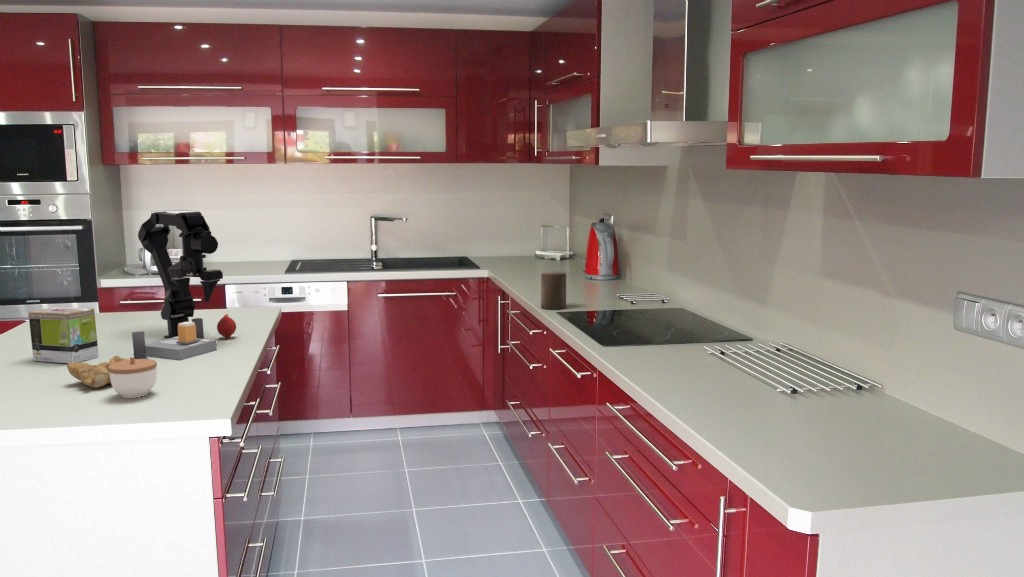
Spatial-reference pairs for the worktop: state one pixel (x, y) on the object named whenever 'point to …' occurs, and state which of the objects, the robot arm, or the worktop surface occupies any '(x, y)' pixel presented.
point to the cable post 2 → (199, 327)
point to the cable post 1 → (139, 345)
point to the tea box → (63, 334)
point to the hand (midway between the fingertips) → (196, 301)
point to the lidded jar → (133, 377)
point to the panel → (179, 348)
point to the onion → (226, 326)
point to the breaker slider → (187, 333)
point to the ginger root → (93, 372)
